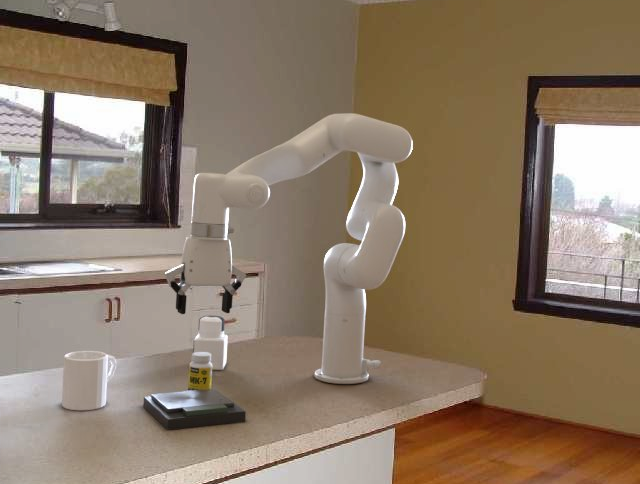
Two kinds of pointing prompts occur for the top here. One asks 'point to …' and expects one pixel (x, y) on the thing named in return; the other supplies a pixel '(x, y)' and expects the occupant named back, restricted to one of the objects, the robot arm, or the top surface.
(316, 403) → the top surface
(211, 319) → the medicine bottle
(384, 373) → the top surface
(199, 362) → the supplement bottle
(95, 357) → the mug
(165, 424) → the scale
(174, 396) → the scale pan
